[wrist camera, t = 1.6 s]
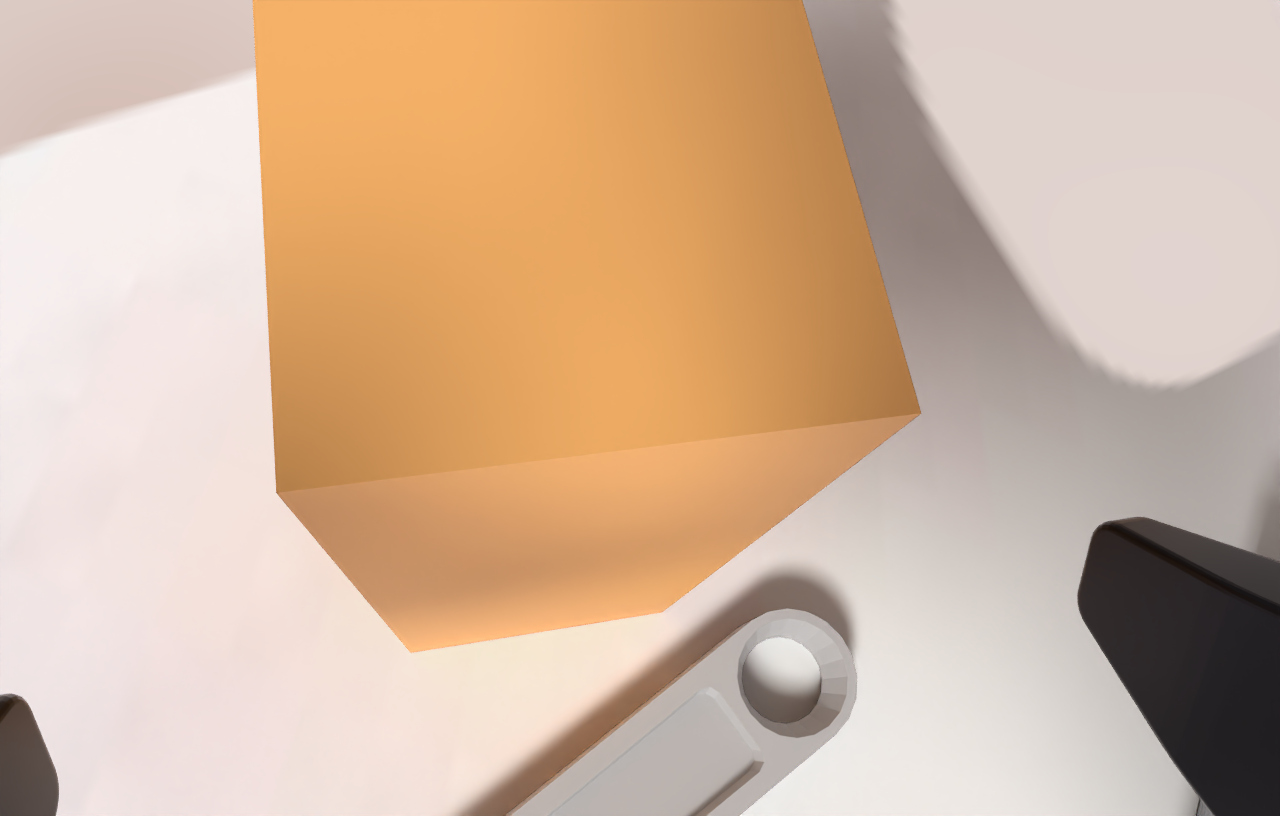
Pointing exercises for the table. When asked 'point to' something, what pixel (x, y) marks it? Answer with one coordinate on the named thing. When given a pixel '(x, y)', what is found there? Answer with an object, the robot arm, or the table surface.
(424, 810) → the table surface
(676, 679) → the adjustable wrench
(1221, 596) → the robot arm
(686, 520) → the tall tan rectangular block
